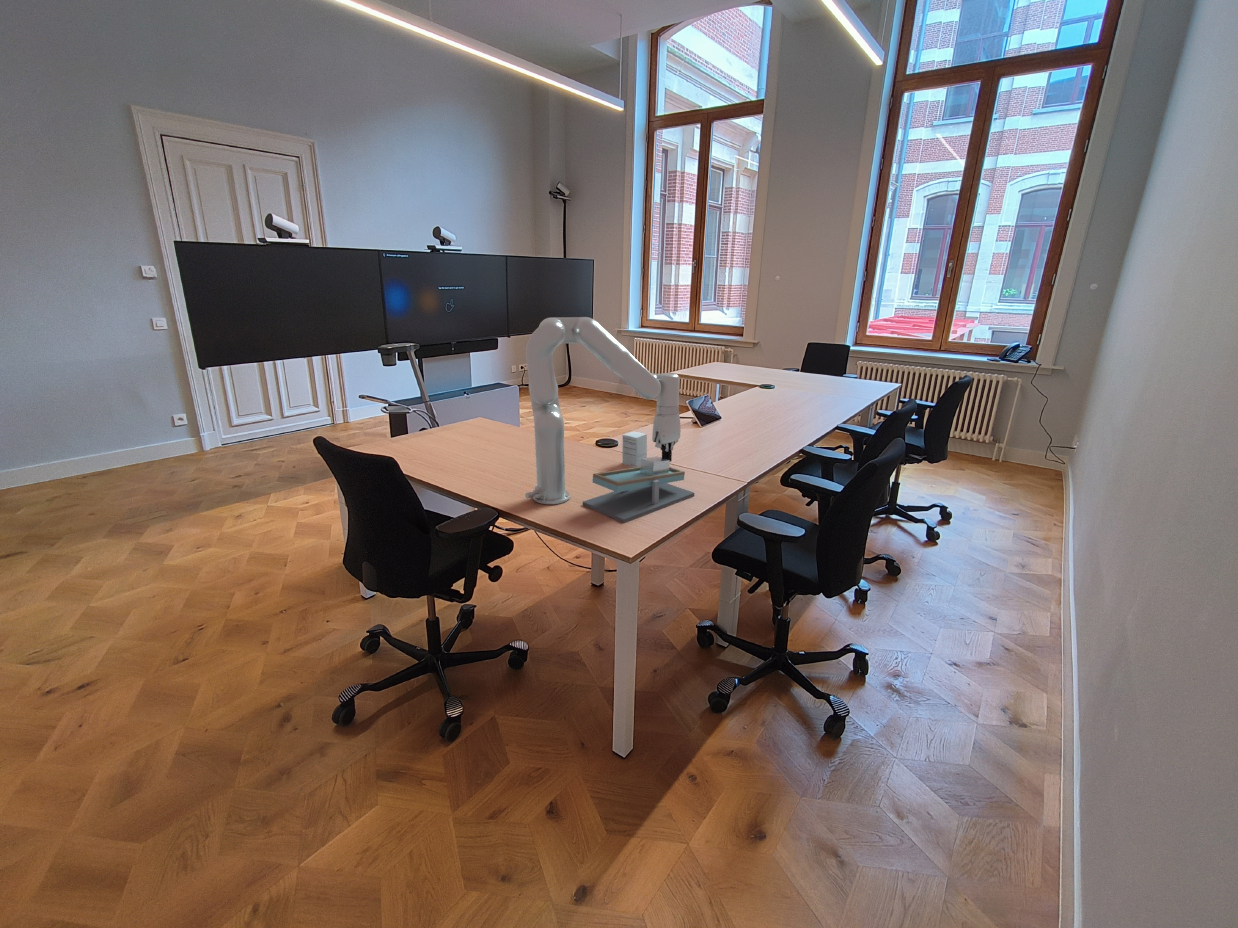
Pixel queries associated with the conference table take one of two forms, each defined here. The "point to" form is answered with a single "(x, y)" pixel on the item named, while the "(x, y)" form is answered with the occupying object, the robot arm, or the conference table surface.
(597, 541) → the conference table surface
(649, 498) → the stand
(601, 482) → the beam
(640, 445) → the supplement box
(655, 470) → the steel block
